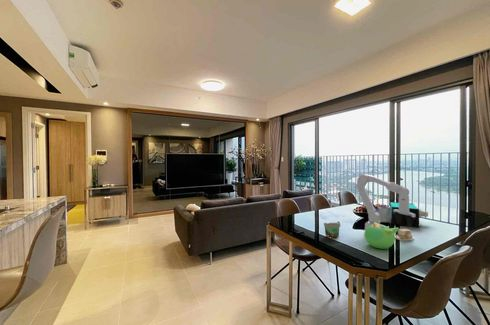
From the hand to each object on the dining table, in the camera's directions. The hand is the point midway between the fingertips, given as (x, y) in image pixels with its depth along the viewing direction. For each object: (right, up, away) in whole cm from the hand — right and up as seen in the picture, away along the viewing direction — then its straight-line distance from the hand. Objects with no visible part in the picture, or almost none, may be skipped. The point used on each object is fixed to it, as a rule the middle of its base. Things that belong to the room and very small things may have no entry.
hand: (403, 225), depth 146 cm
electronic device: (+30, -9, +36) cm, 48 cm away
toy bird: (-25, -10, -14) cm, 30 cm away
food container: (-46, -10, +5) cm, 47 cm away
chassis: (0, -9, 0) cm, 9 cm away
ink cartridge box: (+13, -9, +41) cm, 44 cm away
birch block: (0, -8, 0) cm, 8 cm away
